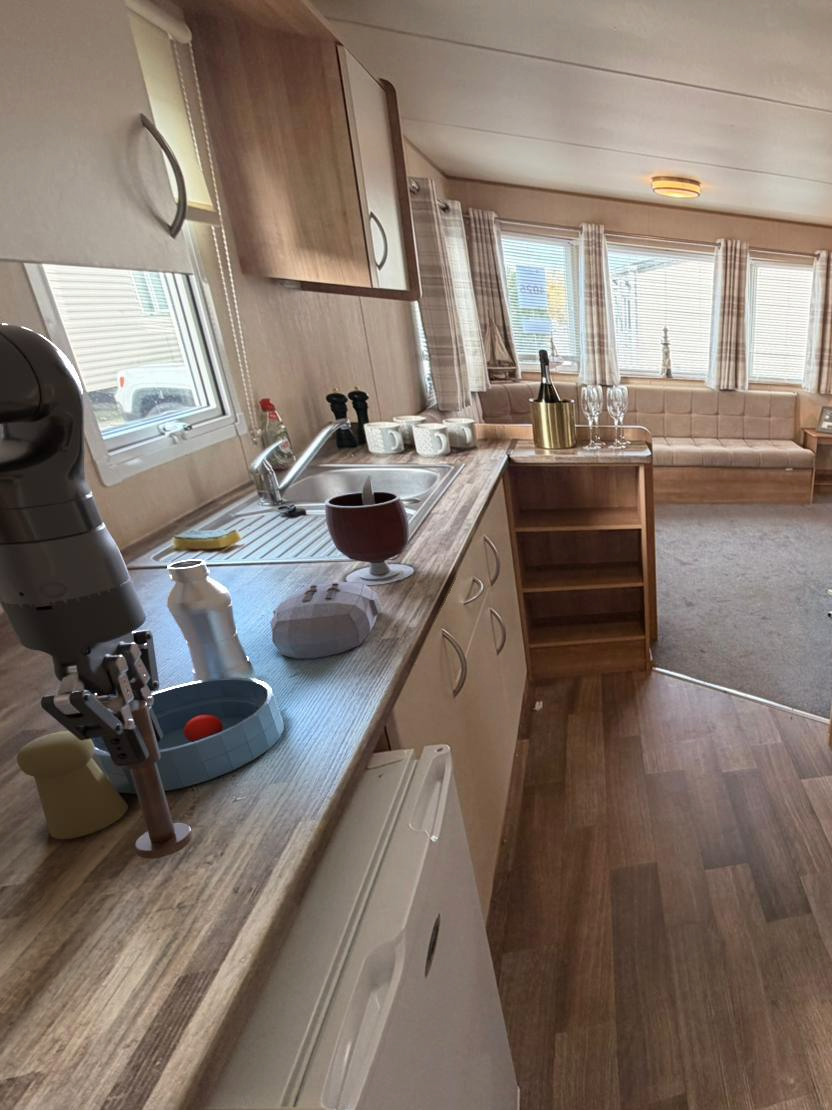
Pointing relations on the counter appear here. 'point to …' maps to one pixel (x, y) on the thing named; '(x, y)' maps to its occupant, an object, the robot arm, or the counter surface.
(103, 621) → the robot arm
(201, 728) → the tomato
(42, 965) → the counter surface
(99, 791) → the cork
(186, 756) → the bowl
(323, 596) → the grey rounded bag
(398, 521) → the mate gourd
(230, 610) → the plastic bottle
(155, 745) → the wooden peg stand
